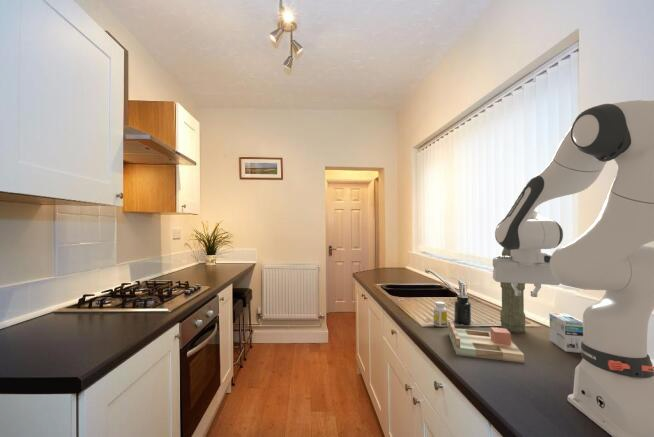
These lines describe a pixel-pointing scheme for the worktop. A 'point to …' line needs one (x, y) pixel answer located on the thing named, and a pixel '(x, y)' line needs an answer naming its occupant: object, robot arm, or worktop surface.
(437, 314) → the supplement bottle
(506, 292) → the thermos
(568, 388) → the worktop surface
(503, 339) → the block
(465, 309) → the supplement bottle
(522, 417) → the worktop surface
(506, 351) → the board
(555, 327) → the light bulb box
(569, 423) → the worktop surface
